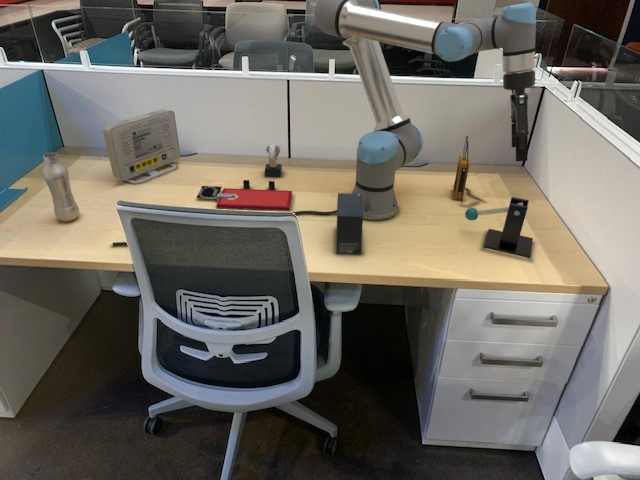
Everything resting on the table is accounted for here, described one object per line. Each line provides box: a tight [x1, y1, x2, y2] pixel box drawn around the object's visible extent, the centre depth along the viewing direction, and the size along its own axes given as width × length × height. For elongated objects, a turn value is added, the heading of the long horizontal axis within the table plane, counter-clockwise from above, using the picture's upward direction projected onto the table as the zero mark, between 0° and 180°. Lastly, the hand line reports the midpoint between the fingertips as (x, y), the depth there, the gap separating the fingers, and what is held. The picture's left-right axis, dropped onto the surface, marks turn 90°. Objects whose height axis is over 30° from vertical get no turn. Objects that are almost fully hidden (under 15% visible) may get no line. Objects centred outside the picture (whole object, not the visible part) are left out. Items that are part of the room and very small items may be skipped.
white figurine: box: [264, 143, 283, 178], centre depth 168 cm, size 6×8×11 cm
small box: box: [336, 192, 364, 255], centre depth 130 cm, size 13×7×12 cm, turn 178°
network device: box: [102, 108, 181, 185], centre depth 164 cm, size 26×9×20 cm, turn 144°
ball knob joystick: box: [464, 202, 524, 222], centre depth 130 cm, size 15×4×4 cm, turn 66°
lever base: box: [483, 196, 534, 259], centre depth 129 cm, size 12×10×14 cm
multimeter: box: [452, 135, 485, 205], centre depth 153 cm, size 15×10×20 cm
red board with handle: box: [196, 179, 293, 211], centre depth 154 cm, size 30×3×15 cm
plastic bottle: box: [42, 152, 80, 222], centre depth 136 cm, size 6×7×20 cm
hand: (519, 153), depth 129 cm, fingers open, 13 cm apart
